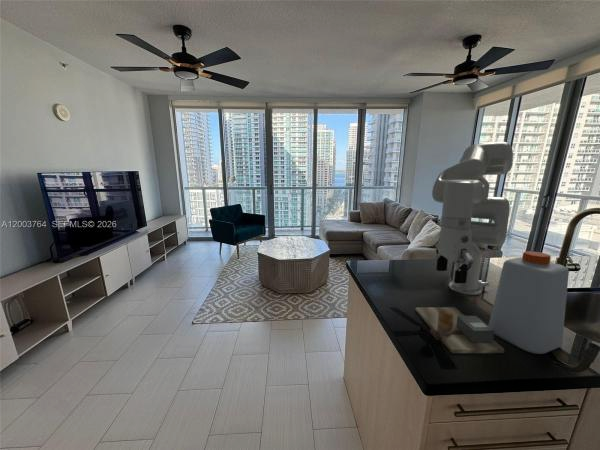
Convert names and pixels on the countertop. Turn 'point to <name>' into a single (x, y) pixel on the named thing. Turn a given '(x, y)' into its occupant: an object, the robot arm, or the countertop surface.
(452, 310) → the board
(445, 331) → the orange brown cylinder
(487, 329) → the block
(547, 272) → the plastic bottle
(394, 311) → the countertop surface
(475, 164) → the robot arm
